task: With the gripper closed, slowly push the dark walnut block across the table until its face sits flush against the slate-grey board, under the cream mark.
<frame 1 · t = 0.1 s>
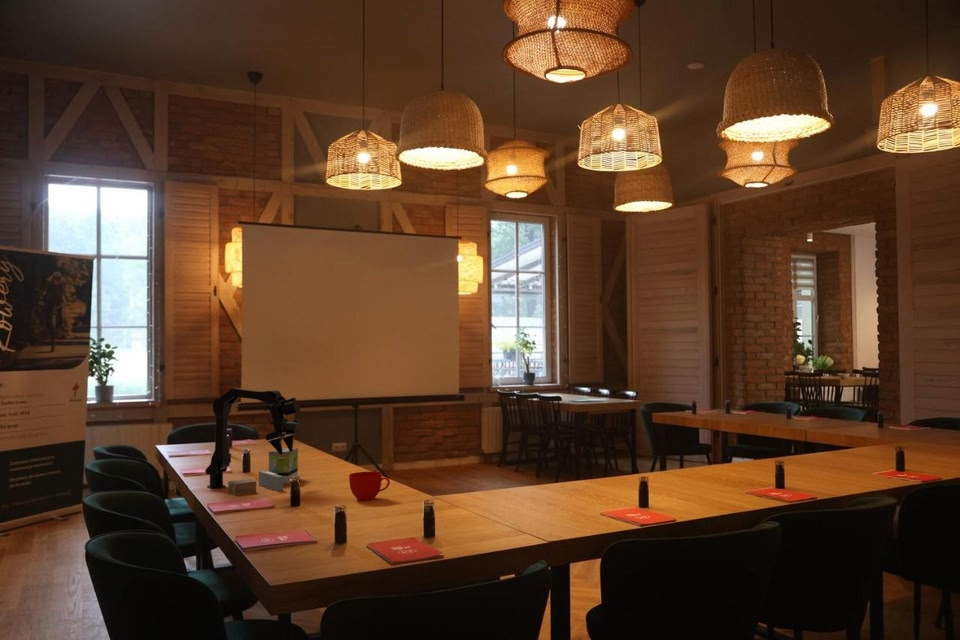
hand: (286, 453, 334), 15 cm above the table, tool pointing down, fingers open, 9 cm apart
slate board: (270, 487, 336), on the table
ceramic cup: (370, 500, 303), on the table
tea box: (283, 481, 354), on the table
walnut block: (242, 493, 326), on the table
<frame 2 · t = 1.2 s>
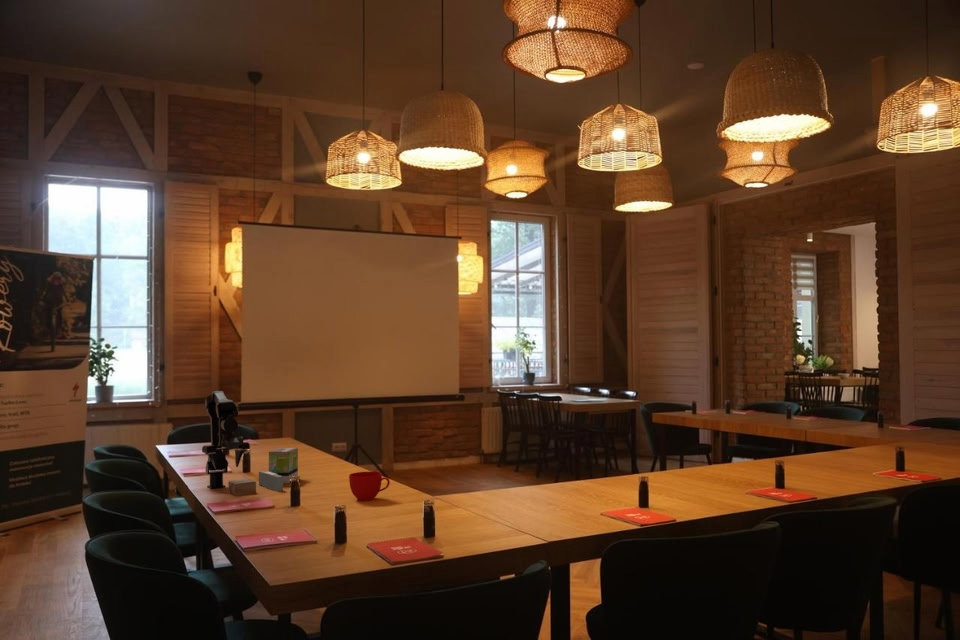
hand: (226, 468, 321), 11 cm above the table, tool pointing down, fingers open, 9 cm apart
nothing on the table moved.
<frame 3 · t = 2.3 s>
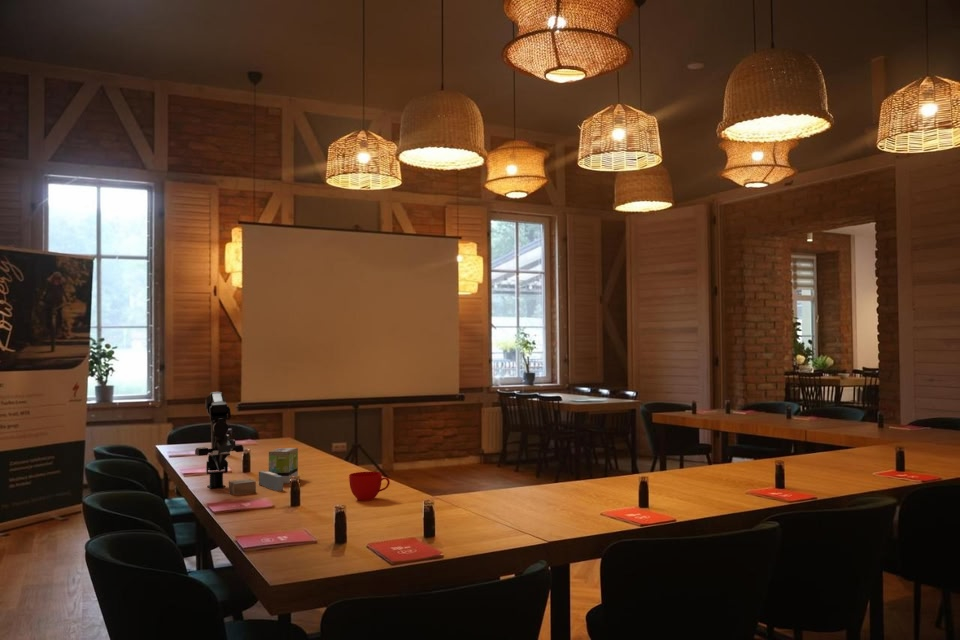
hand: (219, 470, 321), 10 cm above the table, tool pointing down, fingers closed
nothing on the table moved.
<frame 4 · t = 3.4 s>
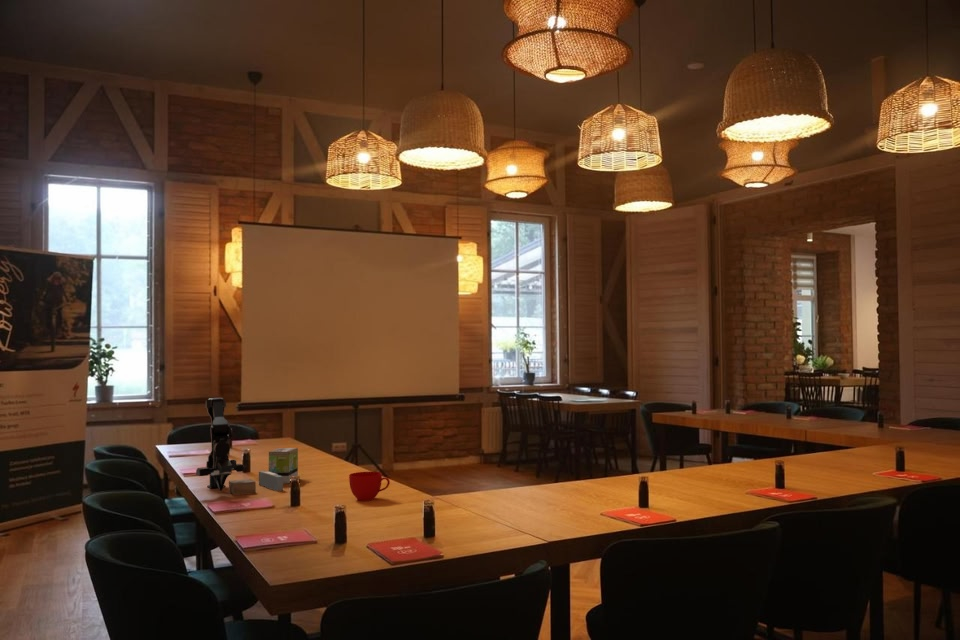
hand: (220, 490, 320), 2 cm above the table, tool pointing down, fingers closed
nothing on the table moved.
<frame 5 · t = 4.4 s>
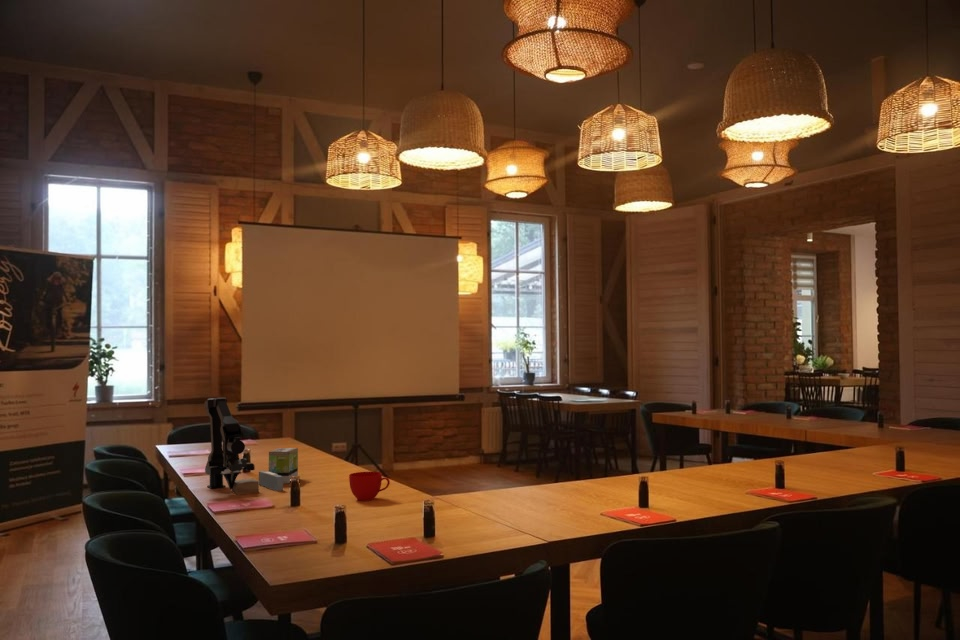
hand: (231, 489, 323), 2 cm above the table, tool pointing down, fingers closed
walnut block: (245, 492, 327), on the table, touching gripper
everything else where it was.
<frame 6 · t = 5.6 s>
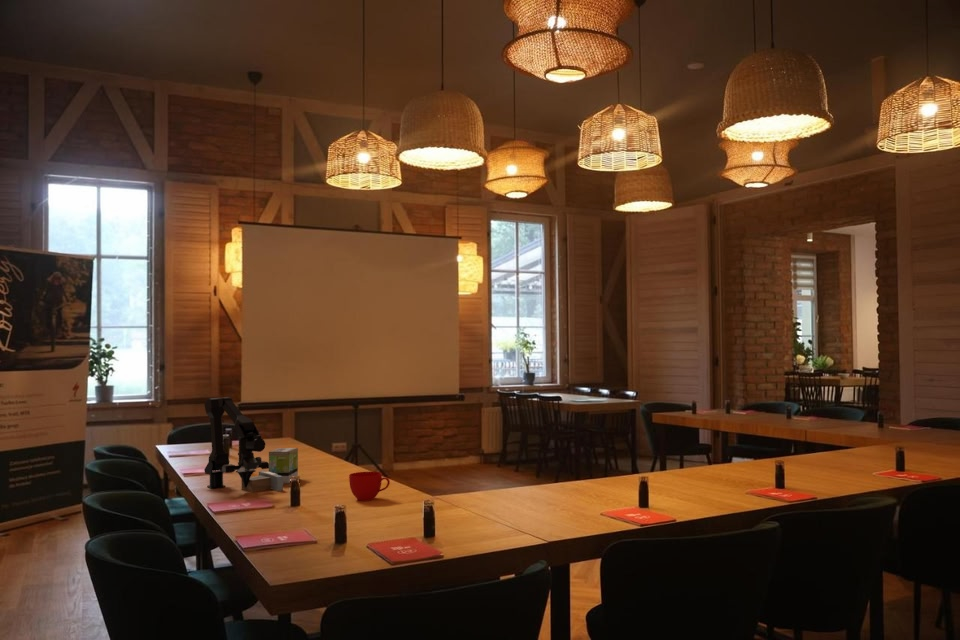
hand: (245, 487, 327), 2 cm above the table, tool pointing down, fingers closed
walnut block: (256, 489, 333), on the table, touching gripper, slate board
everything else where it was.
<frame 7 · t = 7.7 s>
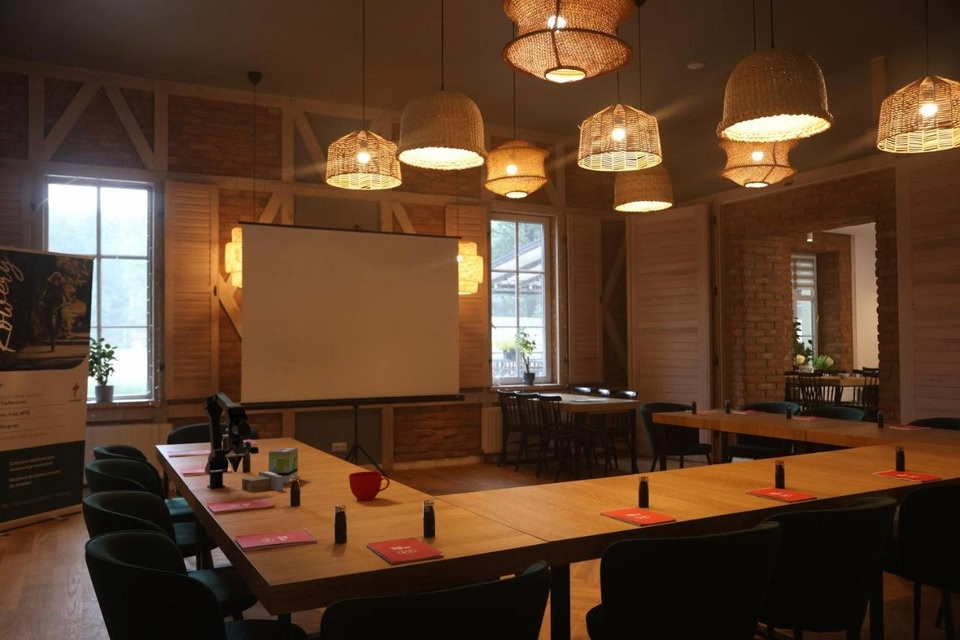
hand: (235, 472, 324), 9 cm above the table, tool pointing down, fingers closed
walnut block: (256, 489, 333), on the table
everything else where it was.
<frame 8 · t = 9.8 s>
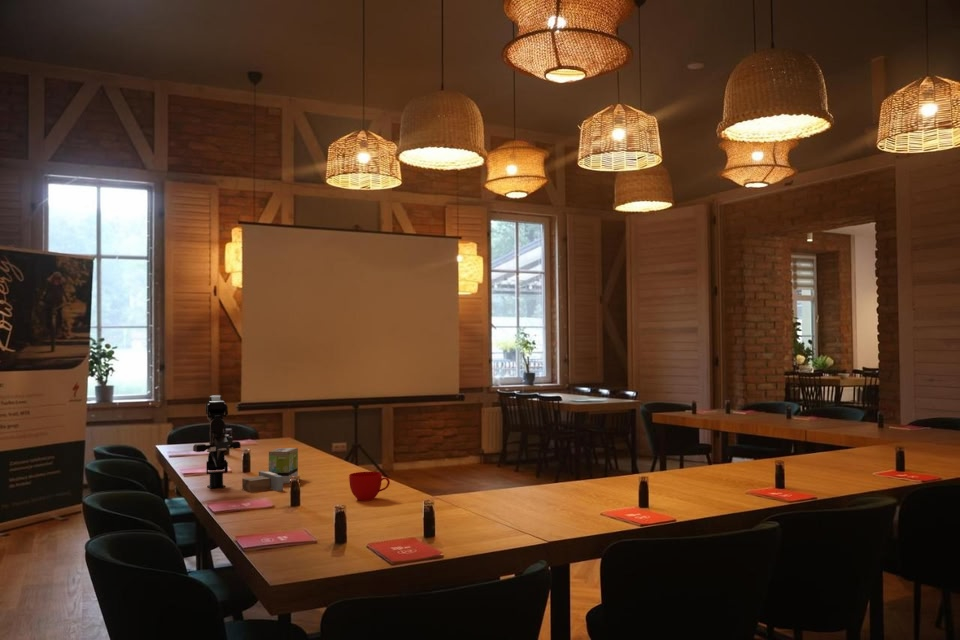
hand: (217, 466, 328), 11 cm above the table, tool pointing down, fingers closed
nothing on the table moved.
at the end: walnut block inside the target area on the table beside the slate board (0.7 cm from its centre), on the table; walnut block tilted 0° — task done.
